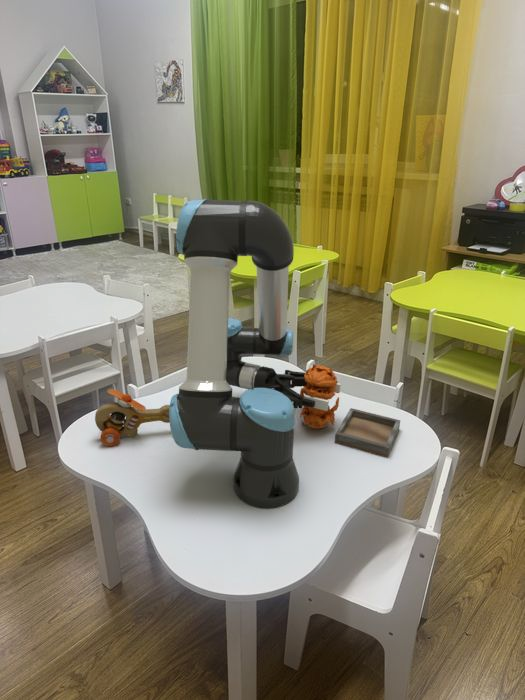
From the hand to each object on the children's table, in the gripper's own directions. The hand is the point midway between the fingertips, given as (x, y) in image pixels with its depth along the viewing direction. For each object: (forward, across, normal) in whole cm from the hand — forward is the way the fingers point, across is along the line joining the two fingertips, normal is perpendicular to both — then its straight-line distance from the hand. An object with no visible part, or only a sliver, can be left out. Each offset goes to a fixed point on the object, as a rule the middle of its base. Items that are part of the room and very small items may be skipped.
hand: (334, 396), depth 127 cm
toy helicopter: (-46, +26, -11) cm, 54 cm away
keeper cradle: (+10, -2, -11) cm, 14 cm away
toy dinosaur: (-4, 0, -10) cm, 11 cm away
